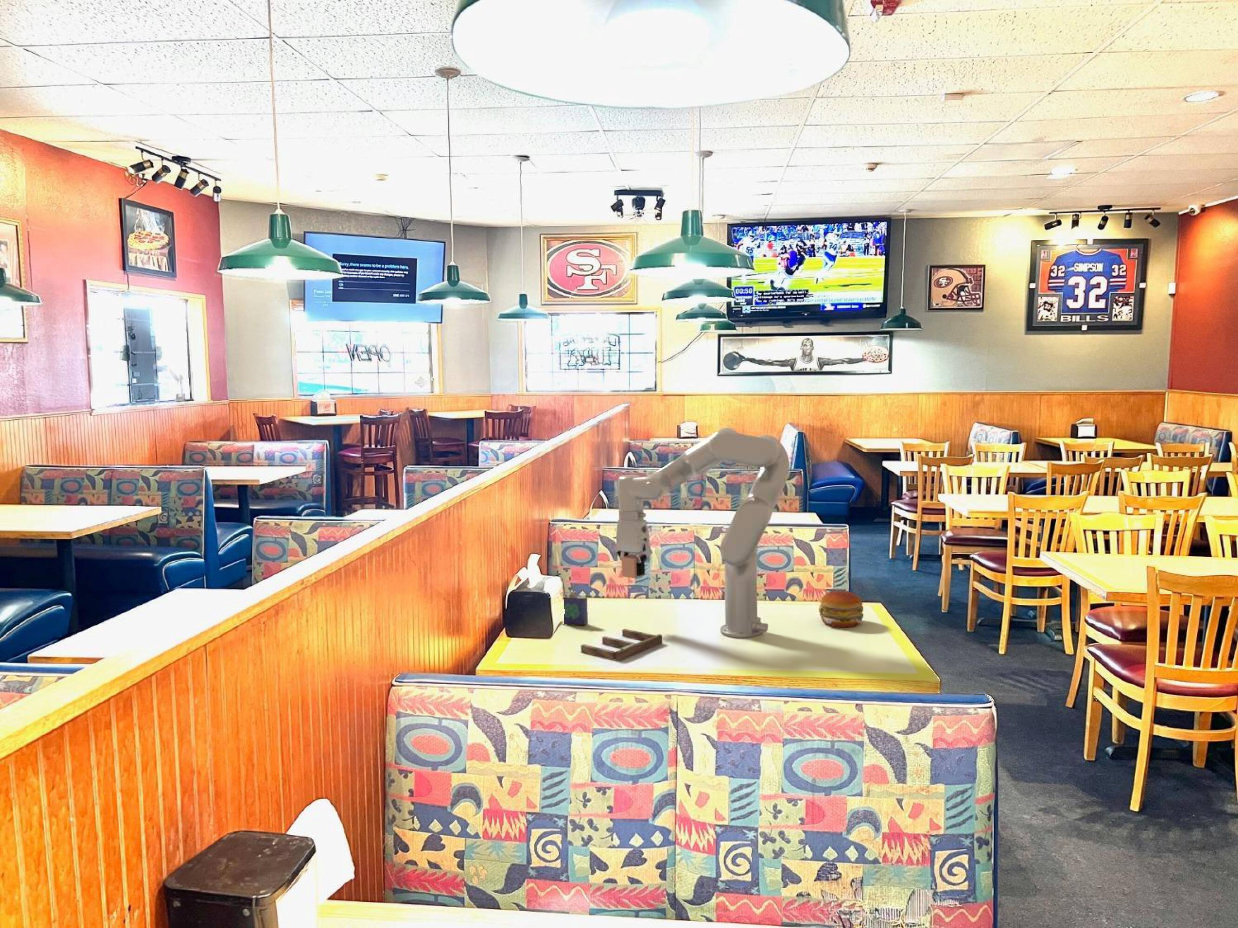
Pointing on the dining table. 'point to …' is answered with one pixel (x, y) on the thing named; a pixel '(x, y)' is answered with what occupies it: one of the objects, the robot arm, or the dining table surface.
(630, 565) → the block
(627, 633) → the comb rack
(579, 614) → the dark blue pouch
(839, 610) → the burger
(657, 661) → the dining table surface
